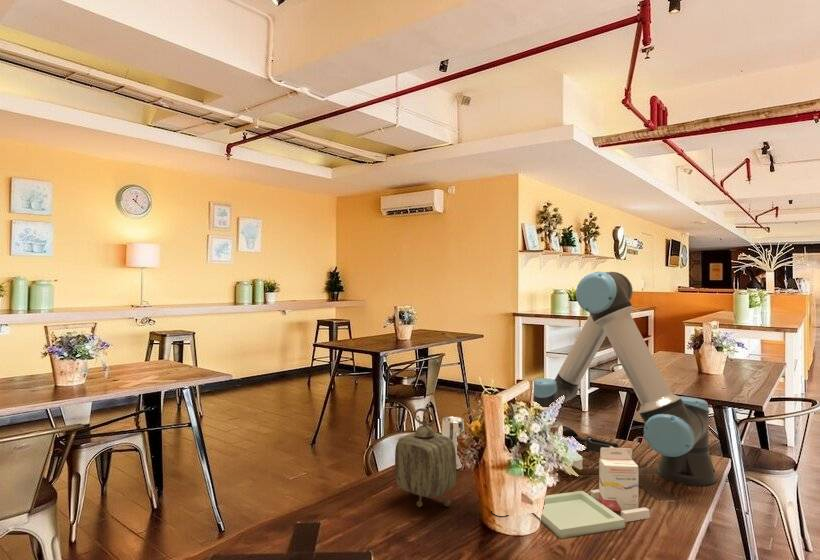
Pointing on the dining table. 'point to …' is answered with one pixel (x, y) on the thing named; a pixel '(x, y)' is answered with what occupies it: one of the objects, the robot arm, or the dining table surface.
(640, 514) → the cartridge bay
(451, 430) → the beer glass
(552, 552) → the dining table surface
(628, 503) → the ink cartridge box
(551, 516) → the sage tray
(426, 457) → the tabletop clock
